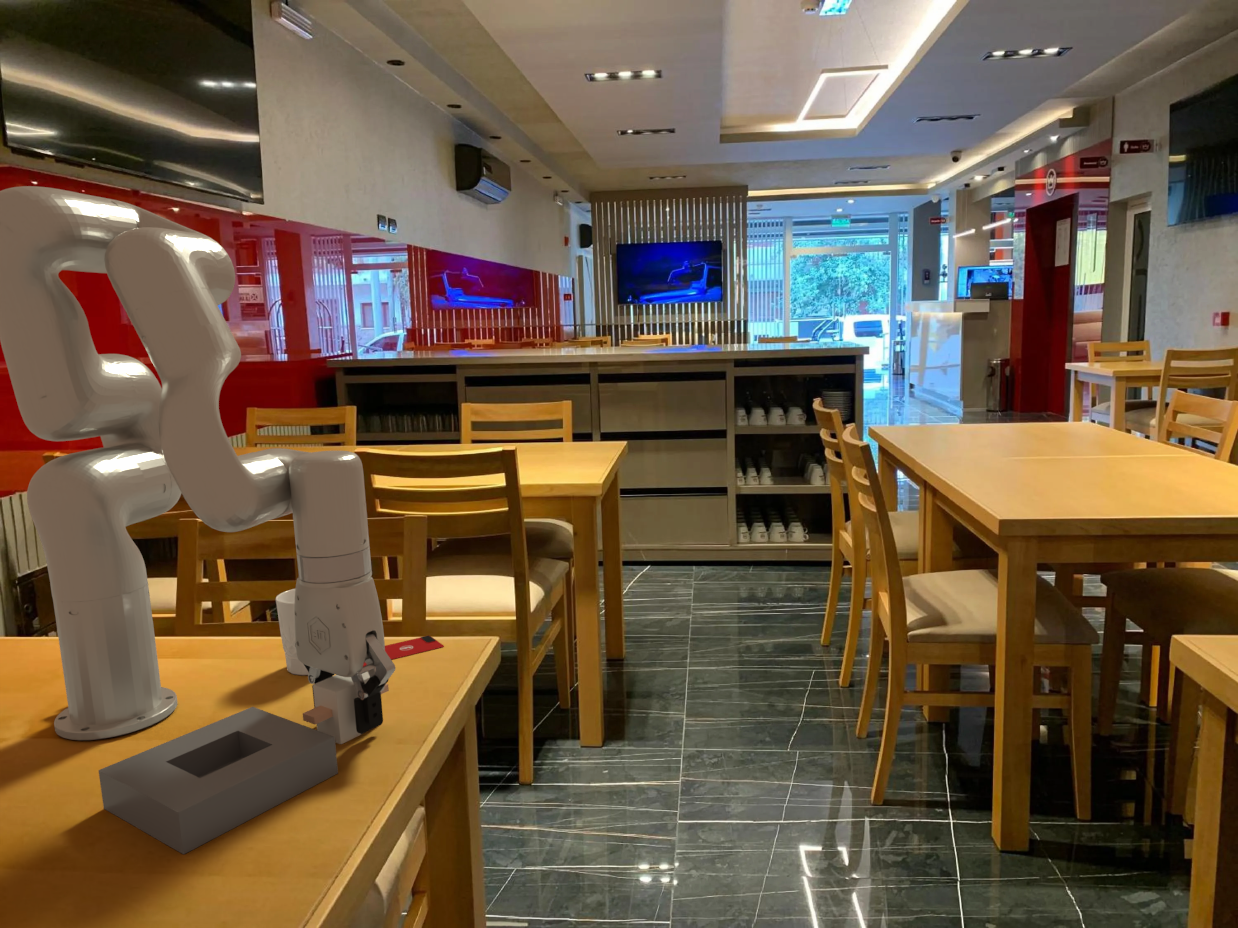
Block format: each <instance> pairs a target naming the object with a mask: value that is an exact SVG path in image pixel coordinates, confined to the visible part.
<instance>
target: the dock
mask: <svg viewBox="0 0 1238 928" xmlns="http://www.w3.org/2000/svg"><path fill="white" fill-rule="evenodd" d="M337 757H338V756H337V748H336V742H335V737H334V736H331V735H328V734H326V733H323V732H320V731H317V729H314V728H312V727H309V726H306V725H303V724H301V723H298V722H296V721H292V720H290V719H287V718H285V717H282V716H280V715H276V714H274V713H271V712H268V711H265V710H263V709H260V708H257V707H255V706H251V707H248V708H247V709H246V708H245V709H243V710H241V711H238V712H236V713H234V714H232V715H229V716H227V717H224V718H222V719H220V720H217V721H214V722H212V723H210V724H207V725H205V726H202V727H199V728H198V729H196V730H193V731H190V732H188V733H185V734H183V735H181V736H178V737H175V738H173V739H171V740H169V741H166V742H163V743H161V744H160V745H159V744H158V745H156V746H154V747H152V748H149V749H147V750H144V751H142V752H140V753H137V754H135V755H132V756H130V757H127V758H124V759H123V760H119V761H118V762H115V763H112V764H110V765H108V766H105V767H103V768H100V769H98V776H99V784H100V791H101V798H102V807H103V809H104V810H106V812H107V811H108V812H109V813H111V814H113V815H114V816H116V817H117V818H120V819H121V820H123V821H125V822H126V823H128V824H130V825H132V826H133V827H135V828H137V829H138V830H140V831H142V832H143V833H146V834H147V835H149V836H150V837H152V838H154V839H156V840H158V841H159V842H161V843H163V844H164V845H165V846H168V847H170V848H172V849H173V850H175V851H177V852H178V853H180V854H182V855H186V854H187V853H189V852H191V851H193V850H195V849H197V848H200V846H202V845H205V844H207V843H208V842H210V841H212V840H214V839H216V838H218V837H220V836H222V835H223V834H226V833H227V832H229V831H231V830H233V829H235V828H237V827H239V826H240V825H242V824H245V823H246V822H248V821H250V820H252V819H254V818H256V817H258V816H260V815H261V814H264V813H265V812H267V811H270V810H271V809H273V808H275V807H277V806H278V805H281V804H282V803H284V802H286V801H288V800H290V799H292V798H294V797H297V796H298V795H300V794H301V793H304V792H305V791H307V790H309V789H312V787H315V786H316V785H318V784H320V783H322V782H324V781H326V780H328V779H329V778H331V777H333V776H335V775H337V774H339V769H338V760H337Z"/></svg>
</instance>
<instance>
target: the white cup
mask: <svg viewBox="0 0 1238 928" xmlns="http://www.w3.org/2000/svg"><path fill="white" fill-rule="evenodd" d="M295 589H296V587H295V588H292V589H289V590H286V591H283V592H281V593H279V594H277V595H276V597H275V604H276V611H277V615H278V616H277V617H278V625H279V631H280V638H281V643H282V649H283V651H284V656H285V664H286V670H287V672H289V673H291V674H292V675H296V676H308V674H309V672H308V670H307V669H306V667H305V666H304V664H303V663H302V662H300V661H299V659H298V657H297V652H296V647H295V643H296V641H295V620H294V603H295Z"/></svg>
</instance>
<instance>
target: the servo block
mask: <svg viewBox="0 0 1238 928" xmlns="http://www.w3.org/2000/svg"><path fill="white" fill-rule="evenodd" d="M361 675H362V677H363V680H364V683H365V684H366V682H367V681H368V680H369V678H370V676H369V673H368V671H367V672H365V673H363V674H361ZM312 685H313V689H312V693H313V692H314V699H313V703H314V702H315V708H314V707H313V708H311V709H309V710H307V711H305V712H302V721H304V722H306V723H310V724H312V725H316V730H317V731H320V732H323V733H326V734H328V735H331V736H334V737H335V744H338V745H342V744H344V743H347V742H349V741H351V740H353V739H355V738H357V737H359V736H361V735H362V734H360V733H358V732H357V730H356V720H355V709H354V699H355V698H357V697H358V695H357V693H356V690H355V687H354V684H353V681H352V679H351V677H343V676H339V675H336V674H334V676H332V677H330V678H328V679H325V680H323V681H320V682H318V683H316V684H315V683H314V684H312ZM389 689H390V688H389V684H388V683H386V684H385V686H384V690H383V691H381V695H383V694H385V693H387V692H389Z"/></svg>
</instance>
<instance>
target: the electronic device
mask: <svg viewBox="0 0 1238 928" xmlns="http://www.w3.org/2000/svg"><path fill="white" fill-rule="evenodd" d="M443 648H445V645H444V644H442V643H441V642H439V641H438V640H437V639H436V638H434V637H432V636H431V635H429V634H428V635H424V636H420V637H416V638H412V639H409V640H404V641H400V642H396V643H391V644H386V645H385V652H386V653H387V655H388V656H389V657H390V659H391V660H392V661H393V660H397V659H402V658H406V657H409V656H414V655H418V654H422V653H426V652H429V651H434V650H439V649H443ZM364 666H367V664H366V663H365V662H364V665H363V667H364Z"/></svg>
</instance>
